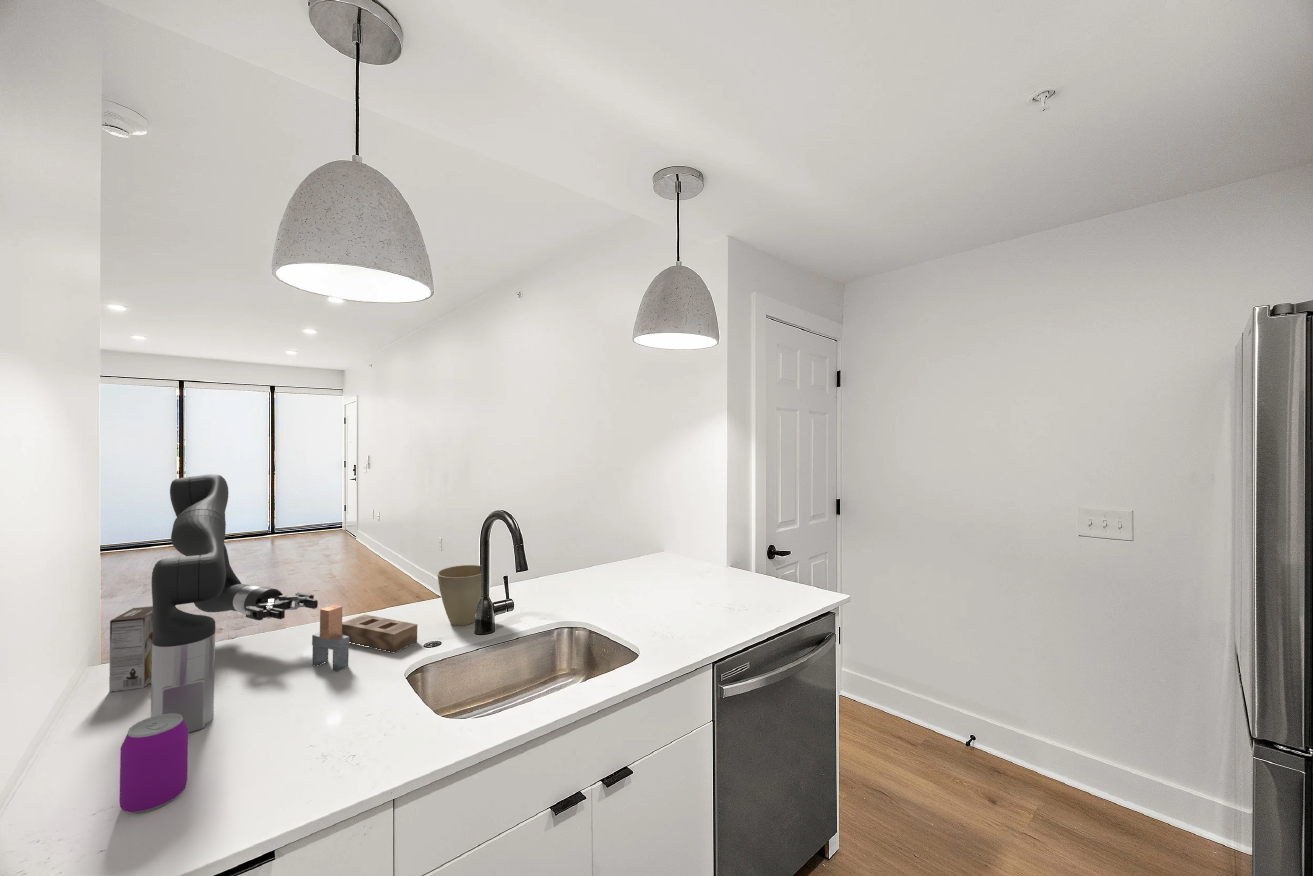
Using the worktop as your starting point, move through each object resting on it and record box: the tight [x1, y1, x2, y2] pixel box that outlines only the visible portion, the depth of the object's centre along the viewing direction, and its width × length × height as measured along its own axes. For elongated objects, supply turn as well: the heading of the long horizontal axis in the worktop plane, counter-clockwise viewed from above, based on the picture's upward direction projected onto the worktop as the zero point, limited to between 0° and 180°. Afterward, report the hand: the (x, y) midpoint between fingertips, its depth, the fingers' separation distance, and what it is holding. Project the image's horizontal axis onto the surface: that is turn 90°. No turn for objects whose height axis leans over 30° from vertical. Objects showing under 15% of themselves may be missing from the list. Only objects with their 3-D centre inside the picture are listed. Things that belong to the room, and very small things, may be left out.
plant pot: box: [436, 564, 481, 627], centre depth 161 cm, size 15×15×16 cm
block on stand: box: [311, 604, 350, 672], centre depth 129 cm, size 9×4×14 cm, turn 70°
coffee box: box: [108, 605, 153, 693], centre depth 119 cm, size 9×6×16 cm
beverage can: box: [118, 713, 189, 815], centre depth 81 cm, size 8×8×12 cm
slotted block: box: [341, 614, 418, 653], centre depth 144 cm, size 20×8×5 cm, turn 70°
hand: (300, 609), depth 133 cm, fingers open, 8 cm apart
